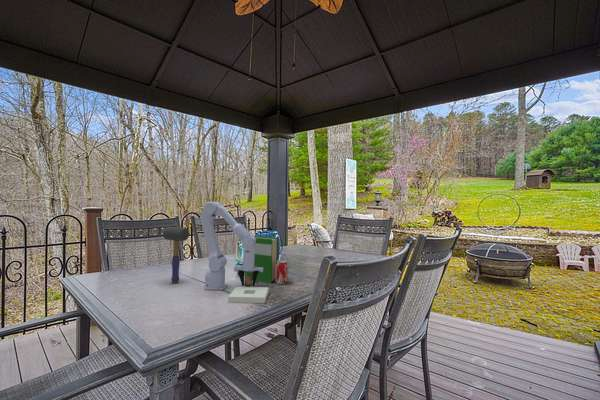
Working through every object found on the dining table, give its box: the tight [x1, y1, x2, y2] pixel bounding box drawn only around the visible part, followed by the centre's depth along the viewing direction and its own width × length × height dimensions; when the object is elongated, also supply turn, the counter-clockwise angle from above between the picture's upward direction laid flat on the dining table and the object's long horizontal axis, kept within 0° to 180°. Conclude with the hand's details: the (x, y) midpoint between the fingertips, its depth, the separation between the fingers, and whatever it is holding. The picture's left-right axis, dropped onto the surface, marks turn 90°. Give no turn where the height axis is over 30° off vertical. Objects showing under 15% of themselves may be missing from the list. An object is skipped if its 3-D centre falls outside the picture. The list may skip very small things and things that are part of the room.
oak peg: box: [244, 274, 253, 287], centre depth 140 cm, size 4×4×7 cm
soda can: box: [274, 259, 289, 285], centre depth 151 cm, size 7×7×12 cm
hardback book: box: [244, 235, 280, 285], centre depth 157 cm, size 18×7×24 cm, turn 63°
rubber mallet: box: [162, 226, 190, 284], centre depth 149 cm, size 12×8×30 cm, turn 72°
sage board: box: [227, 286, 270, 304], centre depth 128 cm, size 16×14×2 cm
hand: (248, 285), depth 140 cm, fingers open, 5 cm apart
